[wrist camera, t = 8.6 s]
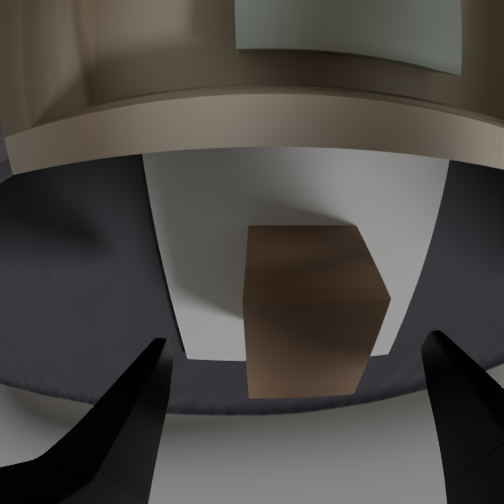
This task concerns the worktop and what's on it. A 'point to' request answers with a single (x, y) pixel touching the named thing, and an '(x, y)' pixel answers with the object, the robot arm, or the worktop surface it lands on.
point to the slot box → (250, 77)
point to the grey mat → (283, 213)
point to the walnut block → (309, 310)
